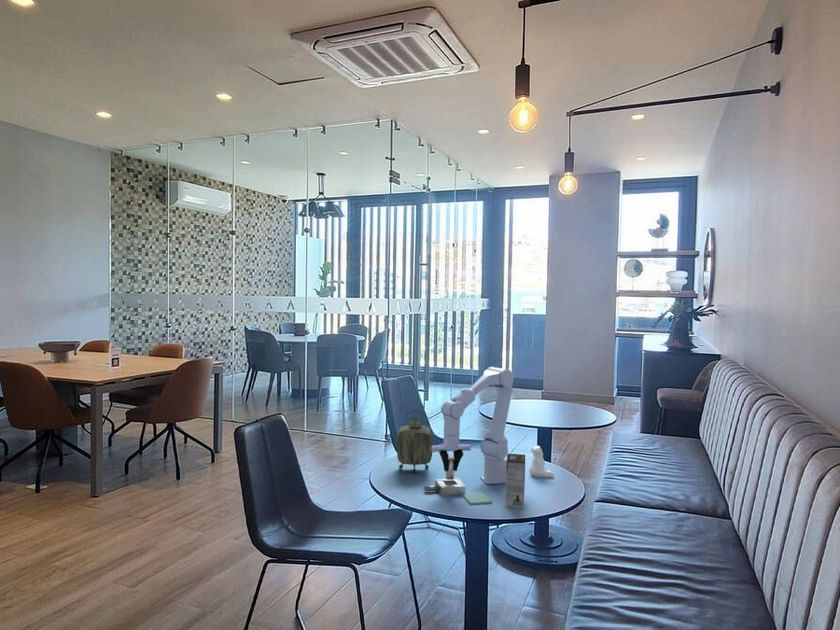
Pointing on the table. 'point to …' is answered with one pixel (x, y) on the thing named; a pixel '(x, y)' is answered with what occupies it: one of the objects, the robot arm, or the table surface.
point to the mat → (477, 498)
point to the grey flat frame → (447, 487)
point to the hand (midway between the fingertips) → (450, 470)
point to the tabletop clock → (414, 443)
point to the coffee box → (515, 480)
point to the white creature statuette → (539, 464)
